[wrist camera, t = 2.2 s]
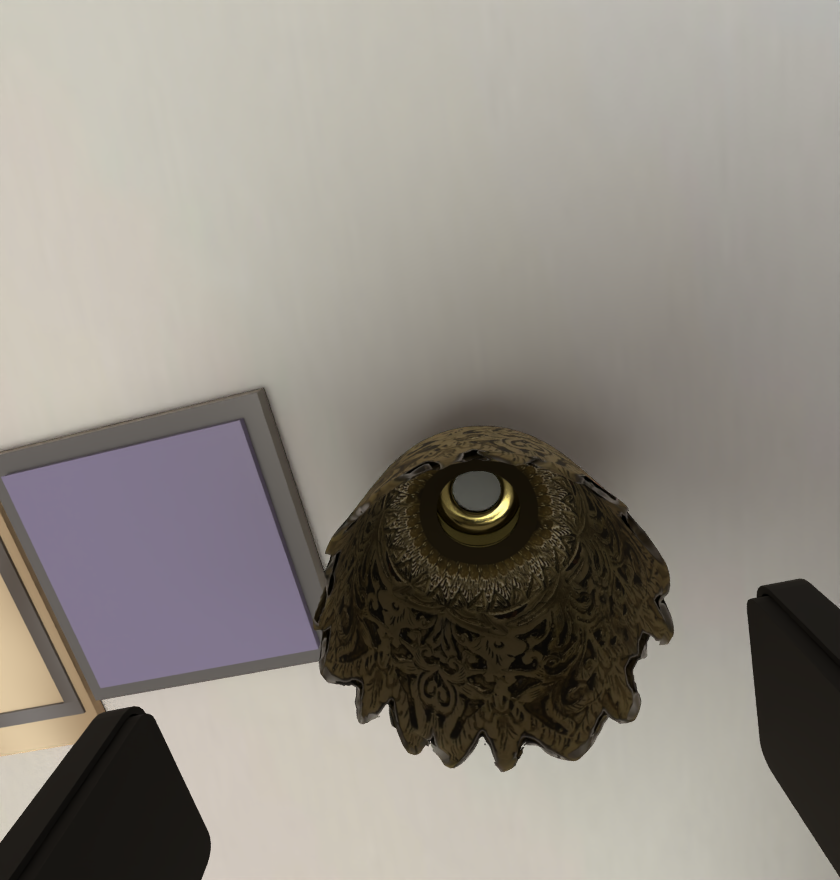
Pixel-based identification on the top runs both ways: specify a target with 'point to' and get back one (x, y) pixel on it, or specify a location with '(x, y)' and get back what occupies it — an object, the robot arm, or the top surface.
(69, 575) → the ink pad
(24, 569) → the board
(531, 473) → the cup
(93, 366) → the top surface
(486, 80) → the top surface
